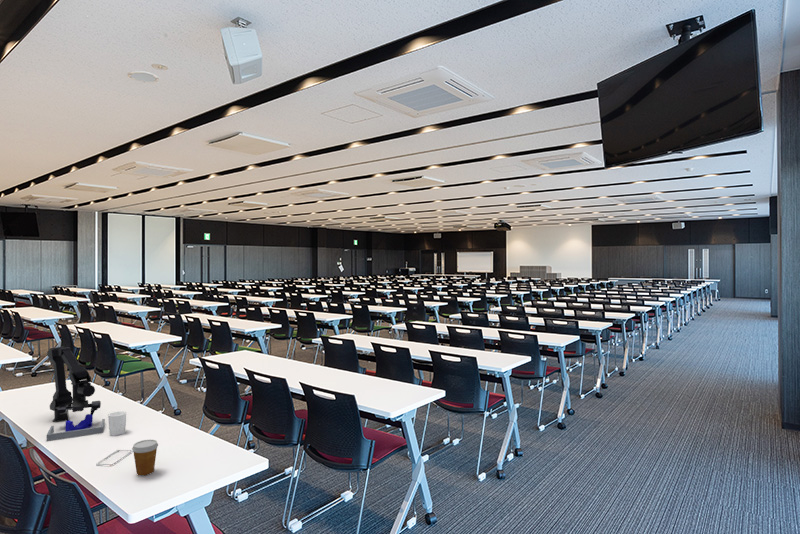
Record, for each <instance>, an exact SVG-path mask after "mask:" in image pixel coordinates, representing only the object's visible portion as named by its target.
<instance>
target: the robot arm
mask: <svg viewBox="0 0 800 534" xmlns="http://www.w3.org/2000/svg"><path fill="white" fill-rule="evenodd" d="M46 355H47V357H48V361H50V362H51V364H52V365H53V367H52V368H53V373H54V374H53V376H54V385H55V392H54V393H53V395H52V401H51V402H50V404H49V410H51V411H53V413H54V416H53V417H54V418H53V420H52V423H54V422H55V423H56V422H62V421H65V422H66V421H68V420H69V421H70V415H69V411H71V412H72V413H76V412H83V411H84V409H86V408H87V409H88V408H90V413H89V414H91V415H93V416H94V413H95V412H96V411H98V410H99V409H101V406H102V405H101V404H102V402H101V401H100V400H95V401H92V402H91V403H89V400H88V399H86V398H87V397H91V396H93V395H95V392H96V388H95V387H94V386H93V385H92V377H91V375H90V373H89V371H88V370H87V369H86V368H85V367H84V366H82V365H80V364H79V362H78V360H77V359H76V356H75V355H74V353H73V352H72V348H71V347H68V346H67V347H65V346H55V347H50V348H49V349H48V350H47V352H46ZM65 365H66V367H67V369H68V371H69V373H68V377H69V381H71V383H70V385H71V386H72V387H71V388H72V392H71V391H70V390H68V388H67V380H66V369H65Z"/></svg>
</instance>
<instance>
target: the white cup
mask: <svg viewBox="0 0 800 534" xmlns="http://www.w3.org/2000/svg"><path fill="white" fill-rule="evenodd" d="M107 416H108V417H107V419H108V420H107V421H108V429H109V431H108V432H109V436H114V437H116V436H121V435H123V434H125V433H126V426H127V411H124V410H118V411H112V412H109V414H108V415H107Z"/></svg>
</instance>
